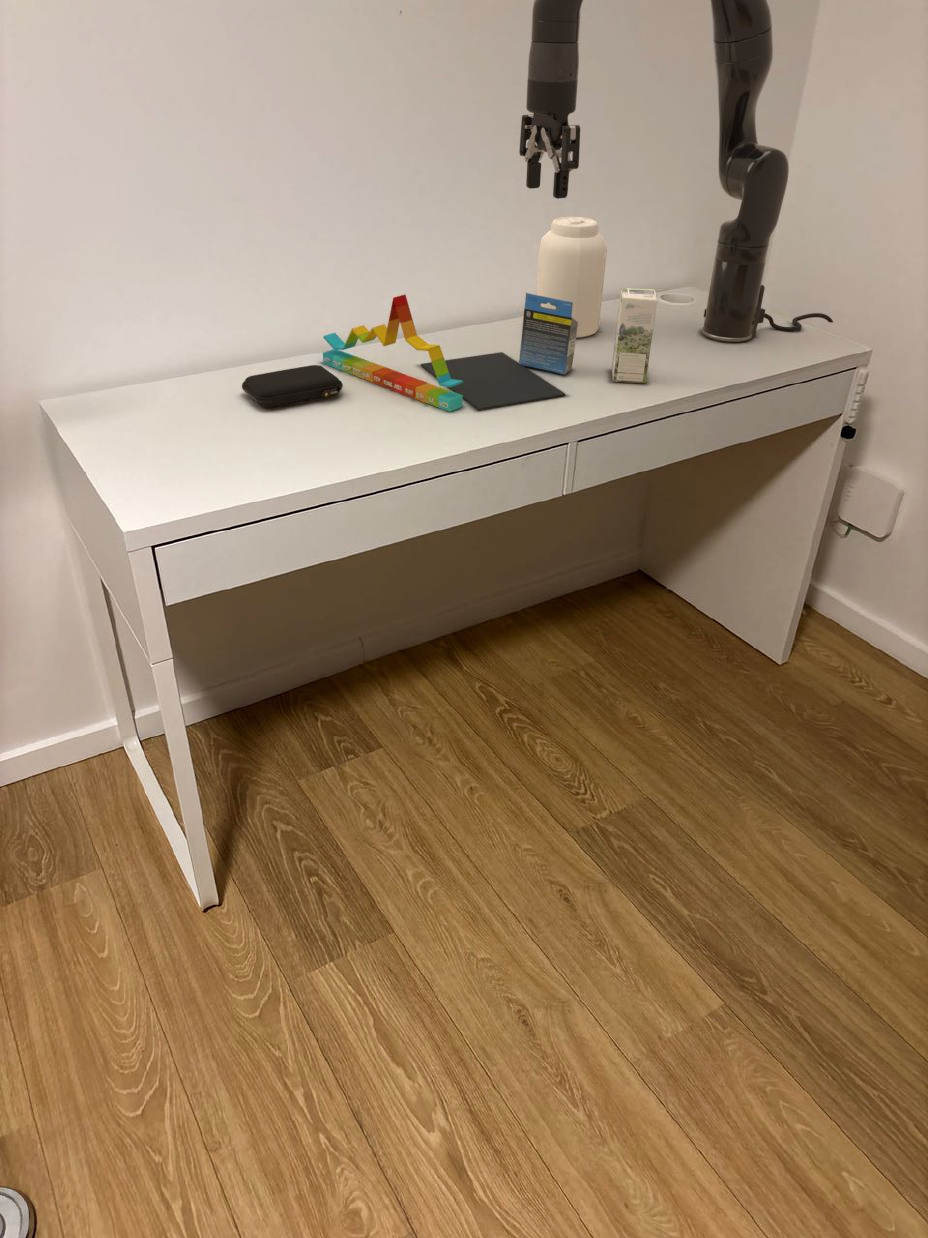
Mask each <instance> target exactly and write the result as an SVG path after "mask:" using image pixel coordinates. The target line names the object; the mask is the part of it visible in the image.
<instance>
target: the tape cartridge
mask: <svg viewBox="0 0 928 1238" xmlns="http://www.w3.org/2000/svg"><path fill="white" fill-rule="evenodd" d="M524 299H525V300H524V308H523V318H522V329H521V338H520V350H519V358H518V363H519V365H522V366H524V367H530V368H533V369H539V370H543V371H547V372H551V373H556V374H560V375H562V376H563V375H566V374H568V373H569V372H570V371H571V370H572V369H573V362H574V356H575V349H576V341H577V338H576V334H577V326H578V322H577V321H576V320H574V319H573V318H572V307H573V302H568V301H563V300H558V299H553V298H549V297H543V296H538V295H536V294H533V293H529V292H525V298H524ZM541 303H543V304H547V303H550V304H551V305H553V306H556V309H550V308H545V307H541Z"/></svg>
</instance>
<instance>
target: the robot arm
mask: <svg viewBox="0 0 928 1238" xmlns="http://www.w3.org/2000/svg"><path fill="white" fill-rule="evenodd" d="M709 1H710V11H711V21H712V45H713V56H714V66H715V67H714V68H715V75H716V85H717V86H716V88H717V102H718V103H717V104H718V180H719V185H720V187H721V189H722V191H723V192H724V193H725V194H726V195H727V196H729V197H731V198H733V199H734V200H735V199H736V200H739V201H741V202H740V206H739V210H738V214H737V216H736V217H735V218H733V219H730V220H726V221H724V222H722V223H721V224H720V226H719V230H718V234H717V241H716V247H715V253H714V260H713V266H712V273H711V277H710V278H711V279H710V283H709V290H708V297H707V302H706V303H707V304H706V308H704V312H703V318H704V321H703V326H702V329H701V333H702V335H703V336H705V337H706V338H708V339H711V340H715V341H719V342H725V343H726V342H727V343H742V342H746V341H749V340H751V339H752V338H754V337H756V336H757V330H758V324H763V323H764V319H766V320H768V323H769V326H770V327H771V328H772V329H774V330H777V331H780V332H781V331H782V332H794V331H800V330H801V329H802V328H803V326H802V324H801V323H800V322H799V321H802V320H806V319H812V318H820V319H824V320H826V321H827V322H828V323H834V321H833V319H832V318H831V317H830V316H829V315H828V314H826V313H822V312H812V313H806V314H802V315H799V316H796V317H794V318H793V319H792V320H791V321H792V324H793V325H794V326H783V325H780V324H777V323H775V322H774V319H773V316H771V315H770V314H768V313H766V309H765V308H763V307H762V304H763V300H764V299H763V298H764V294H765V285H764V284H762V282H763V277H764V272H765V269H766V261H767V258H768V257H767V256H768V252H769V246H770V241H771V237H772V235H773V233H774V231H775V230H776V227H777V225H778V222H779V219H780V215H781V210H782V206H783V204H784V203H783V202H784V199H785V195H786V190H787V185H788V182H789V181H788V180H789V173H790V172H789V171H790V170H789V169H790V166H789V161H788V157H787V155H786V154H785V153H784V151H782V150H781V149H778V148H775V147H772V146H767V145H762V144H759V142H758V137H757V125H756V123H757V122H756V112H757V105H758V101H759V99H760V96H761V94H762V90H763V88H764V86H765V84H766V81H767V79H768V76H769V74H770V71H771V68H772V64H773V57H774V44H773V43H774V42H773V38H774V37H773V21H772V13H771V9H770V5H769V3H768V0H709ZM583 2H584V0H534V1H533V4H532V12H531V13H532V14H531V29H530V30H531V33H530V40H531V41H530V47H529V53H528V61H527V62H528V63H527V83H526V84H527V85H526V105H525V108H526V111H527V112H529V113H530V114H529V113H528V114H522V116H521V123H520V125H521V126H520V137H519V151H518V153H519V156H520V157H524V162H525V163H526V178H525V179H526V182H525V183H526V184H525V185H526V188H528V189H538V188H540V187H541V177H542V162H541V161H542V159H543V157H544V154H545V153H547V157H548V158H549V159H550V160H551V161H552V164H553V169H554V172H553V186H552V187H553V189H552V197H553V198H554V199H557V200H559V199H566V198H568V193H569V182H570V181H569V180H570V173H571V172H572V171H573V170H577V169H579V166H580V146H581V144H580V143H581V126H580V124H571V125H569V115H570V114H573V113H575V111H576V110H577V109H576V108H577V96H578V95H577V94H578V85H579V84H578V83H579V82H578V81H579V67H580V50H579V47H580V46H579V45H580V43H579V41H580V28H581V27H580V26H581V11H582V5H583ZM571 153H572V155H571ZM570 155H571V156H570ZM571 158H572V160H571Z"/></svg>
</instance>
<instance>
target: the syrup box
mask: <svg viewBox="0 0 928 1238" xmlns="http://www.w3.org/2000/svg"><path fill="white" fill-rule="evenodd" d="M657 307H658V299H657V294H656V290H655V289H649V288H629V287H628V288H627V287H622V288H621V289H620V295H619V303H618V312H617V321H616V330H615V337H614V346H613V355H612V363H611V375H612V382H614V383H628V384H629V383H630V384H646V383H647V378H648V369H649V363H650V356H651V348H652V342H653V334H654V327H655V322H656V321H655V320H656V314H657Z"/></svg>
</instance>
